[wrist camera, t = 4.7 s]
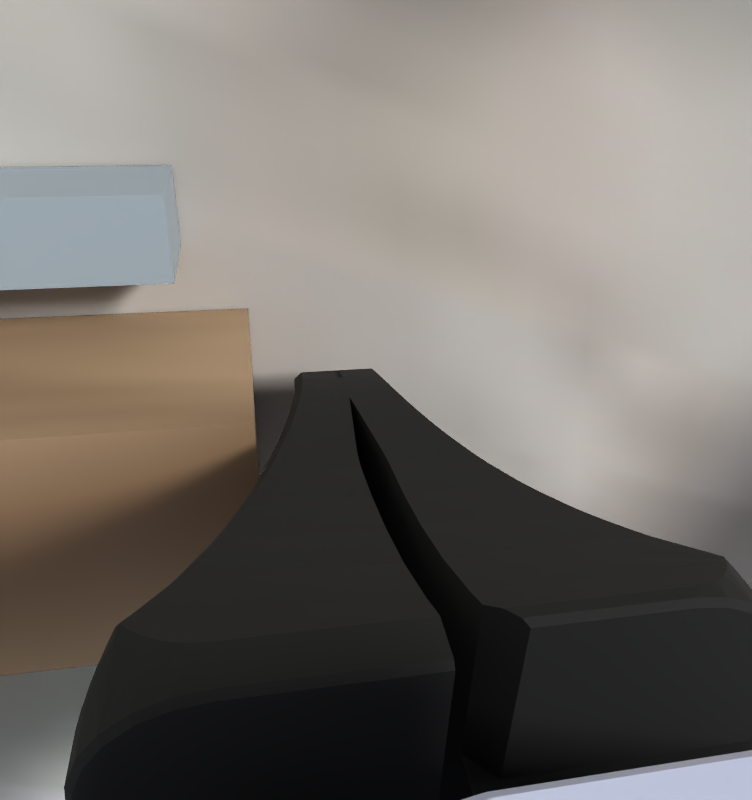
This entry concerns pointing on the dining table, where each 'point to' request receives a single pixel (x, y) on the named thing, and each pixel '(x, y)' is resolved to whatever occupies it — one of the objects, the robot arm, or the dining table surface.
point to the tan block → (113, 468)
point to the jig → (87, 226)
